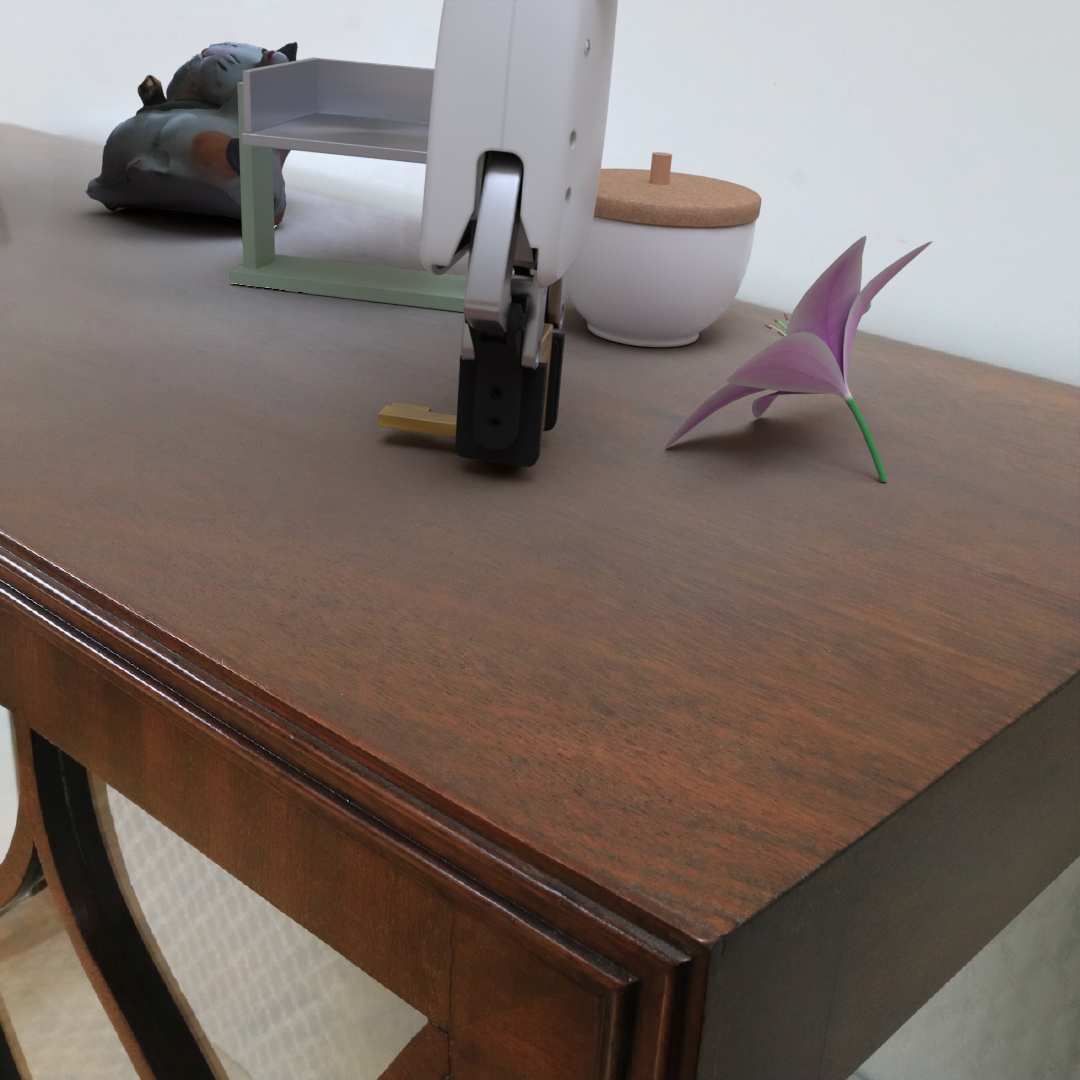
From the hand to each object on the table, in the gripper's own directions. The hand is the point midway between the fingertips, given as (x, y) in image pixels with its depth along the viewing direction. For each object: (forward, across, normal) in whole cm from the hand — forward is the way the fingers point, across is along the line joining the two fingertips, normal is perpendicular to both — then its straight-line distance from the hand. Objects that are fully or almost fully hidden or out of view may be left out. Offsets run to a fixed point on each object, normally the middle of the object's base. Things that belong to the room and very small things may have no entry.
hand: (507, 437), depth 49 cm
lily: (+1, -5, +11) cm, 12 cm away
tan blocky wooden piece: (0, 0, -2) cm, 2 cm away
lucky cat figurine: (+2, -36, -29) cm, 47 cm away
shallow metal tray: (-7, -27, -13) cm, 31 cm away
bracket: (+1, -23, -13) cm, 26 cm away
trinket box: (+1, -21, +3) cm, 21 cm away
